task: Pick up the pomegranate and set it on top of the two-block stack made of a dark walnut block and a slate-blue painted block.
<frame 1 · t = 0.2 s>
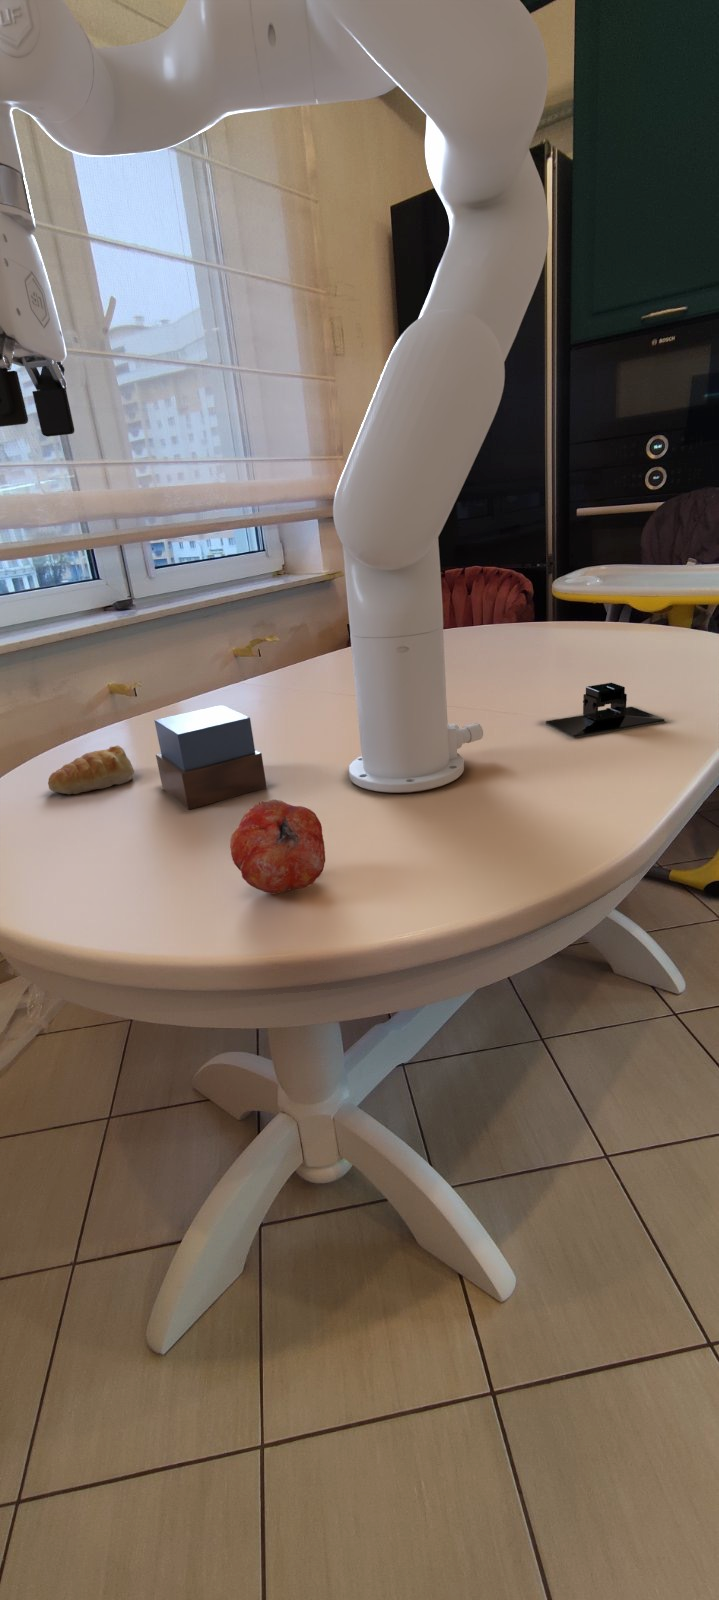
hand: (36, 430, 68), 37 cm above the table, tool pointing down, fingers open, 9 cm apart
top block: (207, 753, 80), point 4 cm above the table, touching base block
base block: (213, 787, 81), on the table, touching top block
pastry: (98, 784, 86), on the table
build plate: (603, 724, 90), on the table
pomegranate: (283, 886, 58), on the table
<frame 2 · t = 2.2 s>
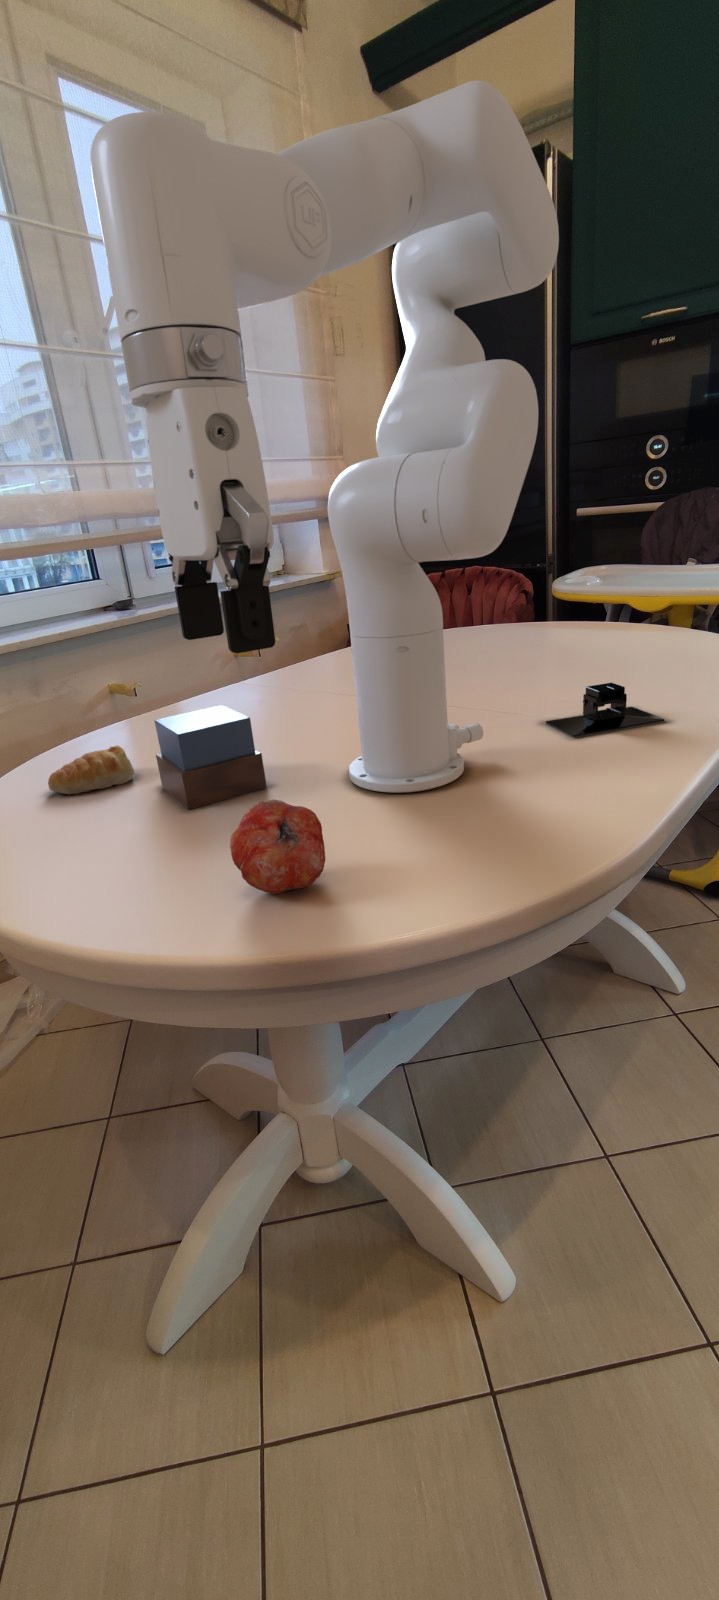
hand: (226, 643, 53), 19 cm above the table, tool pointing down, fingers open, 9 cm apart
nothing on the table moved.
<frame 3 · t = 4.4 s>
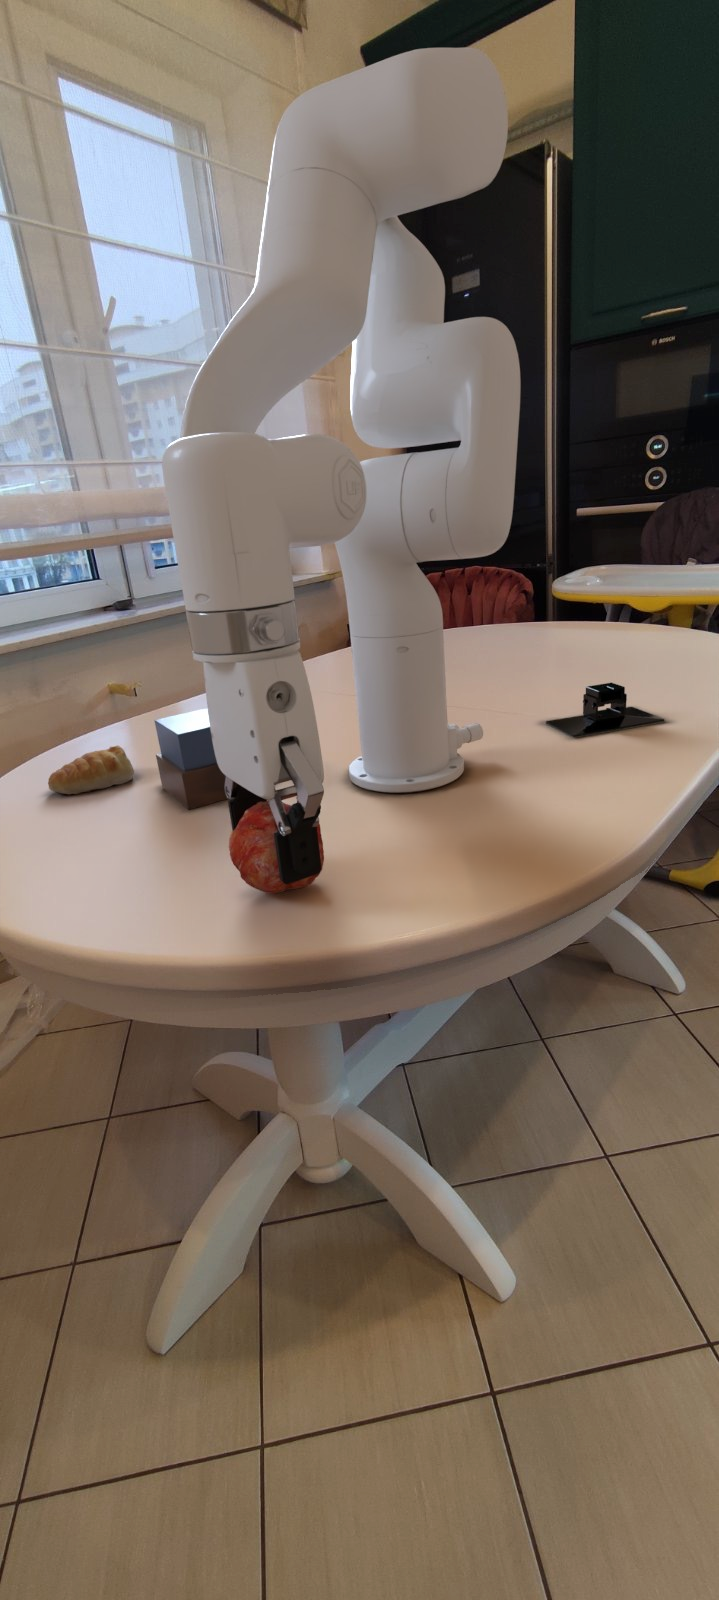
hand: (276, 857, 57), 3 cm above the table, tool pointing down, fingers closed on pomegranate, 8 cm apart
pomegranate: (283, 886, 58), on the table, touching gripper
everything else where it was.
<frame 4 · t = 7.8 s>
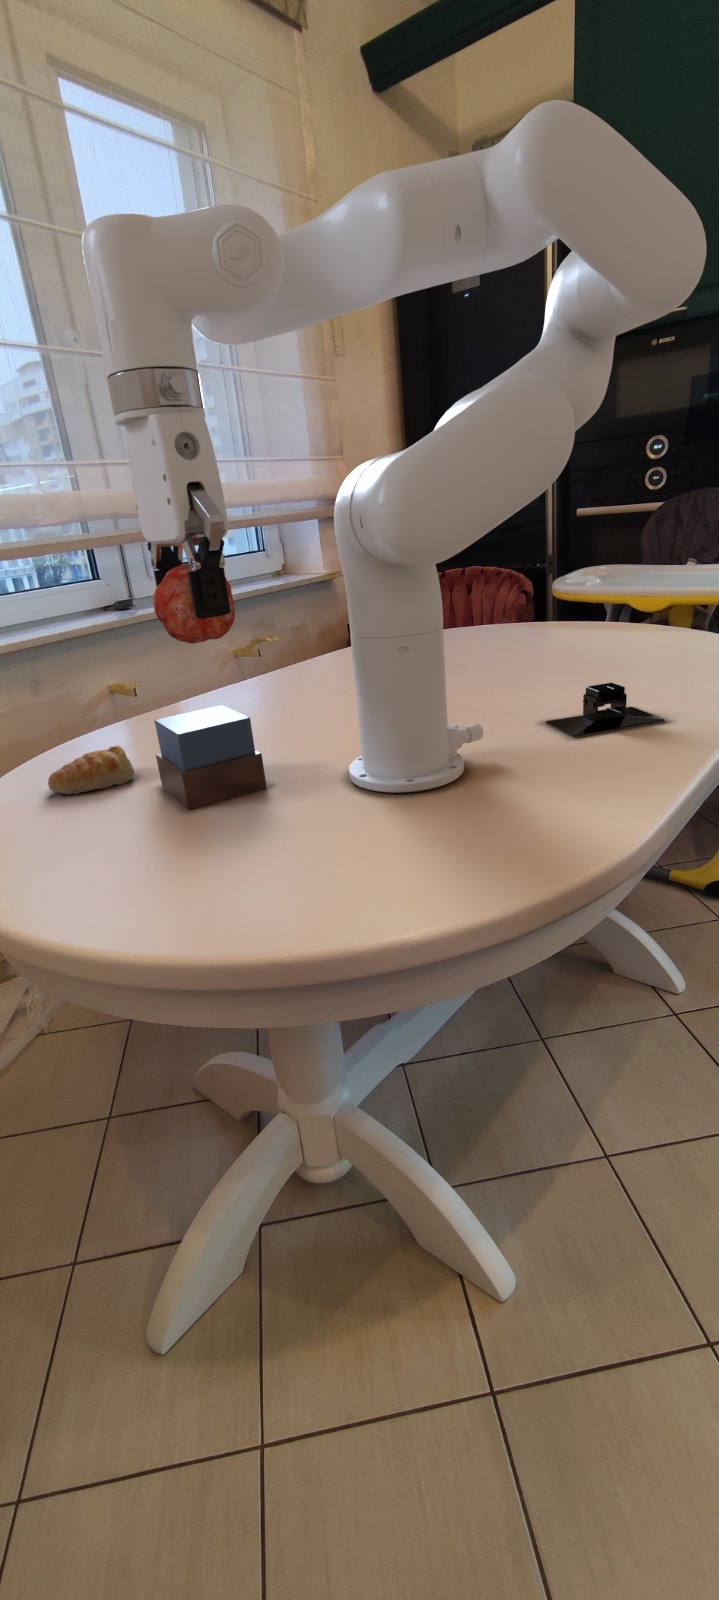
hand: (194, 612, 68), 20 cm above the table, tool pointing down, fingers closed on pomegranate, 8 cm apart
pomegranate: (201, 642, 69), point 17 cm above the table, touching gripper
everything else where it was.
when the fingers open (11 cm above the table, at t = 11.1 s): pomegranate stays where it is, resting on top block.
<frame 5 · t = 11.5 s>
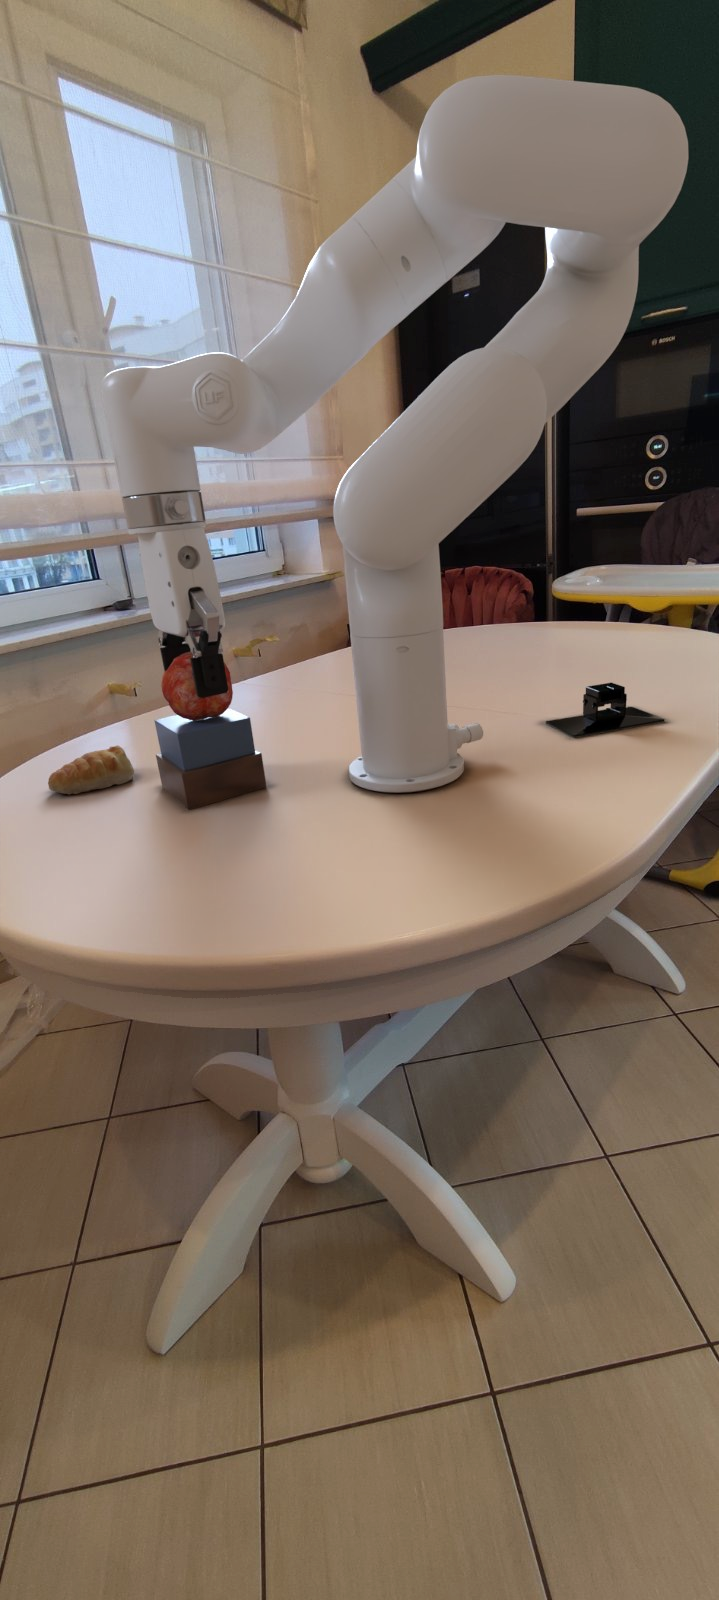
hand: (196, 687, 77), 11 cm above the table, tool pointing down, fingers open, 9 cm apart
top block: (207, 753, 80), point 4 cm above the table, touching base block, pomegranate
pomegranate: (203, 718, 79), point 8 cm above the table, touching top block
everything else where it was.
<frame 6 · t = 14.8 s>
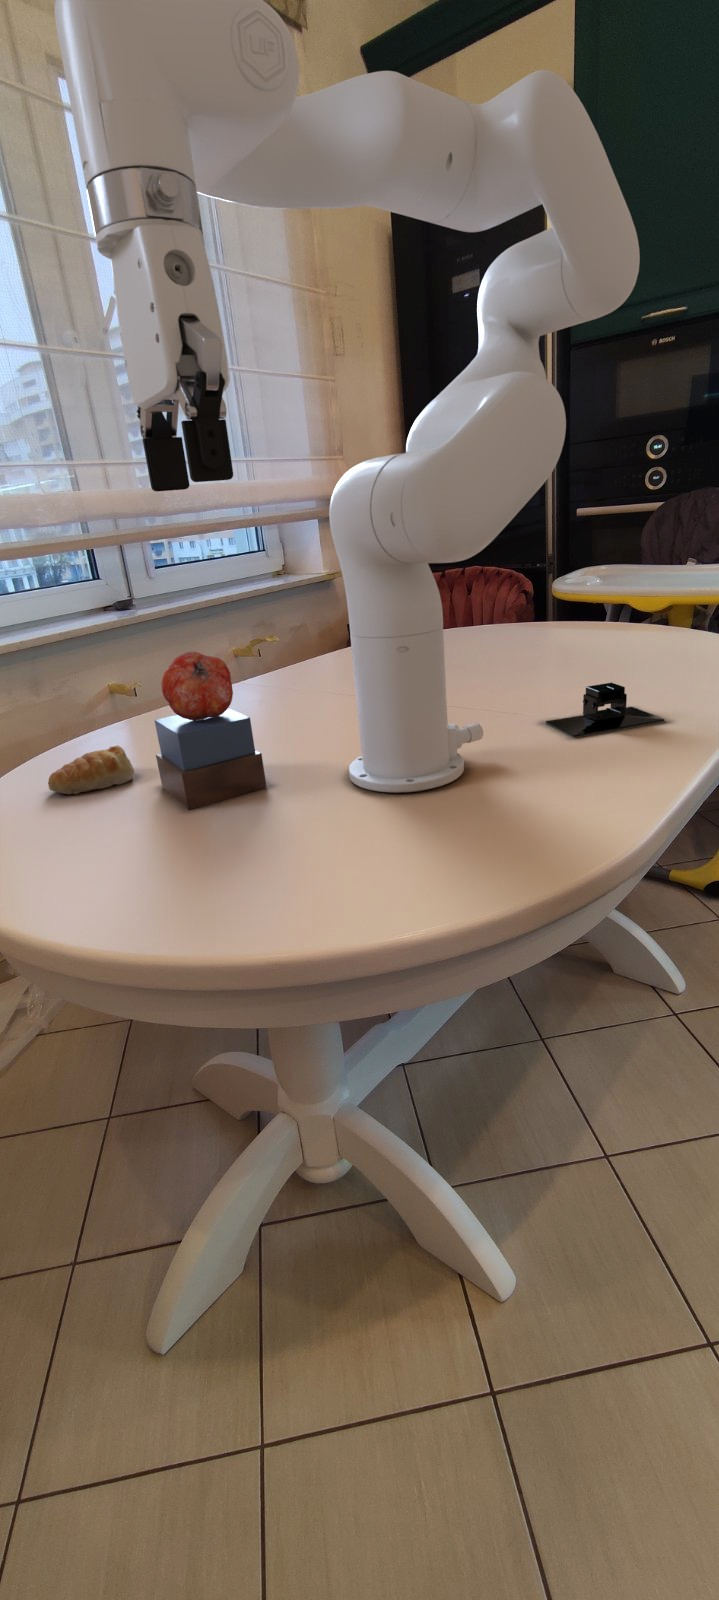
hand: (190, 485, 58), 30 cm above the table, tool pointing down, fingers open, 9 cm apart
nothing on the table moved.
at the end: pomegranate 0.5 cm off-centre on the top block, point 3.8 cm above the top block's base; top block 0.0 cm off-centre on the base block, point 4.0 cm above the base block's base; the gripper is holding nothing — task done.
